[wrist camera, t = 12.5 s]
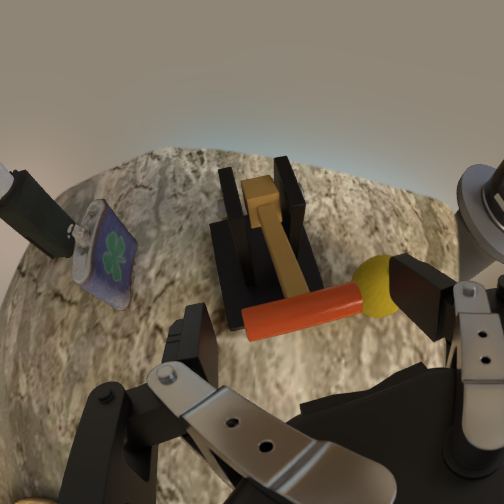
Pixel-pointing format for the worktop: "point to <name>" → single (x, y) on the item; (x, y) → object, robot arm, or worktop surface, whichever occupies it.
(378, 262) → the lemon
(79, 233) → the flask
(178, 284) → the worktop surface
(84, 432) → the robot arm
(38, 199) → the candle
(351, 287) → the valve lever
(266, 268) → the black lever stand
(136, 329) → the worktop surface
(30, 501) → the wooden plate
